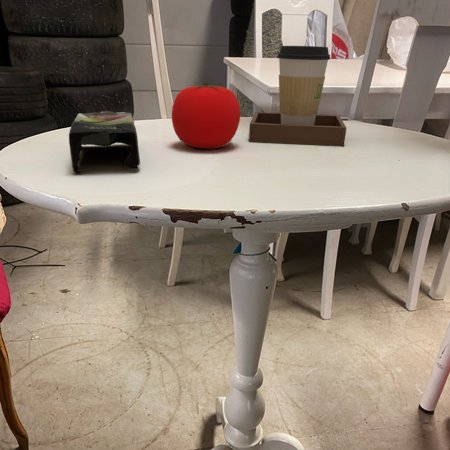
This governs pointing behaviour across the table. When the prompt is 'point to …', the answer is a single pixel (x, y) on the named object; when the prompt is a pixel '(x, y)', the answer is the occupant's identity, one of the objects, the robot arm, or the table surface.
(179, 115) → the tomato
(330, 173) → the table surface
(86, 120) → the black box
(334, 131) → the serving tray
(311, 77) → the coffee cup
